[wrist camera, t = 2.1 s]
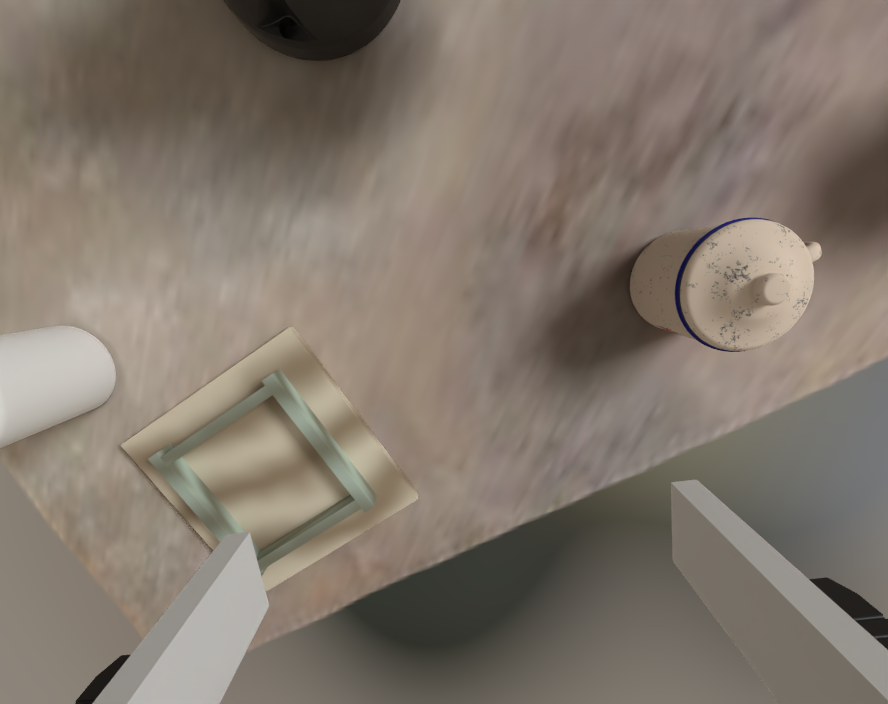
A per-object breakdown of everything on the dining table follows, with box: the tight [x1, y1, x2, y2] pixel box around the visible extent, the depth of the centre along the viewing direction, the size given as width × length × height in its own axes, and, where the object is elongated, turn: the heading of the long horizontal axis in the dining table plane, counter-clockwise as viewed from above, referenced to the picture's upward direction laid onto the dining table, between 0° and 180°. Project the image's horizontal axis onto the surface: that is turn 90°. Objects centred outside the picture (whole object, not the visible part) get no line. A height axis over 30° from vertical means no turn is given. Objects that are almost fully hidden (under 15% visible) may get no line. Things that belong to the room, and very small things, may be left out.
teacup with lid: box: [630, 218, 822, 352], centre depth 32 cm, size 12×9×12 cm
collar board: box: [120, 326, 418, 592], centre depth 40 cm, size 20×20×3 cm
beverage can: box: [0, 326, 116, 448], centre depth 34 cm, size 8×8×12 cm
